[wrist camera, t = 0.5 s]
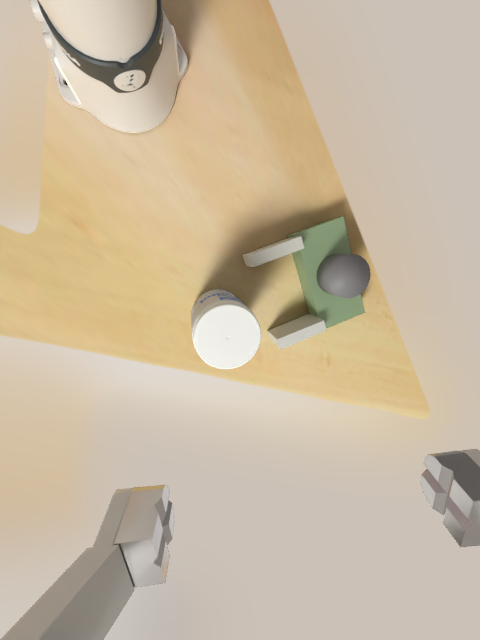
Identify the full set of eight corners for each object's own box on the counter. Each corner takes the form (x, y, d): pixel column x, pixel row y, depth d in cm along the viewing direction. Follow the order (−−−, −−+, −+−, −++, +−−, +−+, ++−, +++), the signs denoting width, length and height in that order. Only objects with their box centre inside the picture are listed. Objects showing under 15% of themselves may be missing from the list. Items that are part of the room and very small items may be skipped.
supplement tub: (232, 281, 52) (251, 291, 38) (249, 328, 54) (272, 354, 40) (181, 300, 51) (181, 318, 37) (201, 347, 53) (208, 381, 39)
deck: (241, 252, 51) (253, 252, 42) (331, 218, 53) (360, 212, 44) (271, 341, 56) (287, 358, 47) (352, 308, 58) (382, 318, 49)
